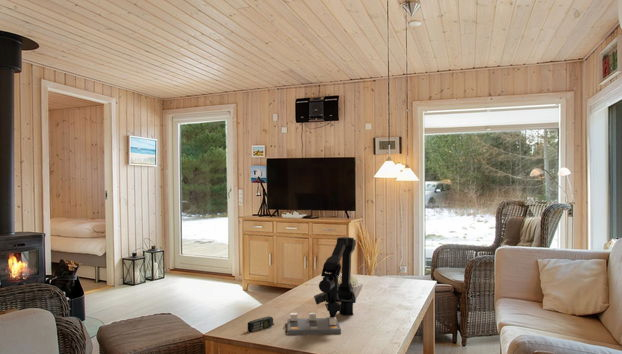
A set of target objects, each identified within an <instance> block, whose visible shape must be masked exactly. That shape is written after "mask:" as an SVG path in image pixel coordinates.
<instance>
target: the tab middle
mask: <svg viewBox="0 0 622 354" xmlns="http://www.w3.org/2000/svg"><path fill="white" fill-rule="evenodd" d="M316 316H317V315H316V312H309V314H308V318H309V321H316V318H317V317H316Z"/></svg>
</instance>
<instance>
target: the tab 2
mask: <svg viewBox="0 0 622 354" xmlns="http://www.w3.org/2000/svg"><path fill="white" fill-rule="evenodd" d="M328 318H329V324H330V325H336V318H337V317H336V316H335V317H330V316H329V317H328Z"/></svg>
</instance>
